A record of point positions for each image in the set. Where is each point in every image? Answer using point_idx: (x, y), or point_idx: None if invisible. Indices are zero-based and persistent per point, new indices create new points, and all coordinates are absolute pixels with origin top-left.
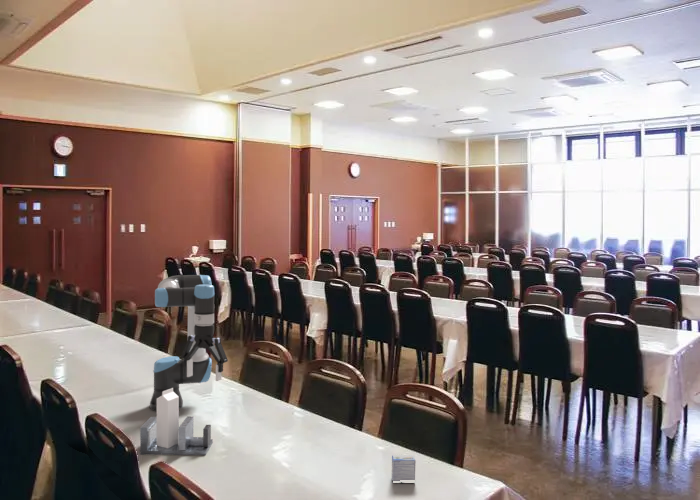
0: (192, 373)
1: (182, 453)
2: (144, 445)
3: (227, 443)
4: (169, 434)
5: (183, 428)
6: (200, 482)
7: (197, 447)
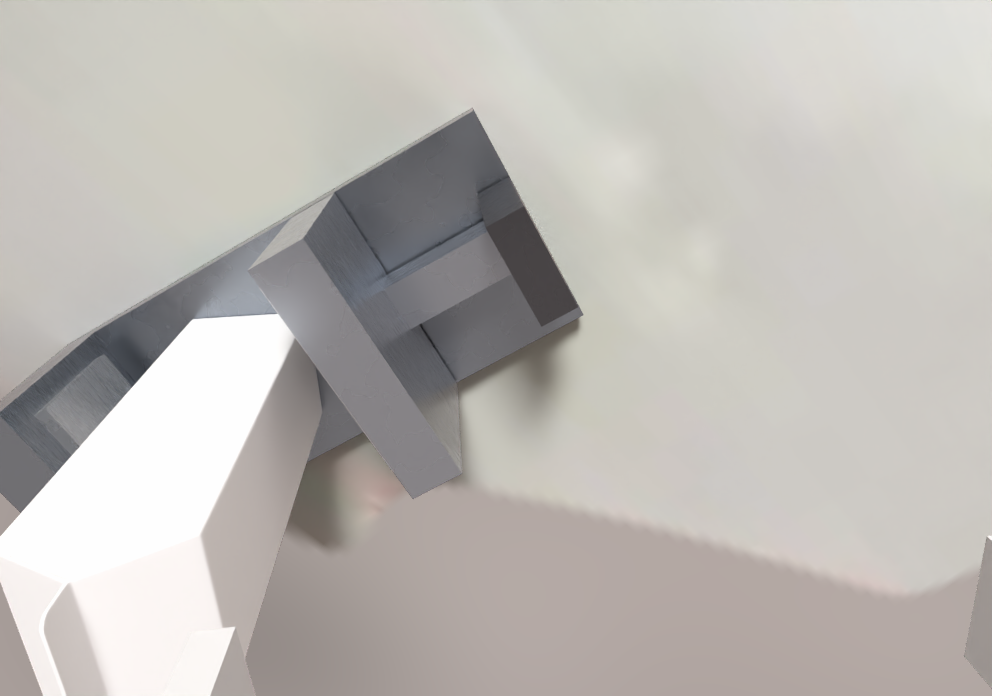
0: (221, 672)
1: None
2: None
3: (583, 49)
4: (305, 449)
5: (446, 474)
6: (775, 559)
7: (485, 295)
